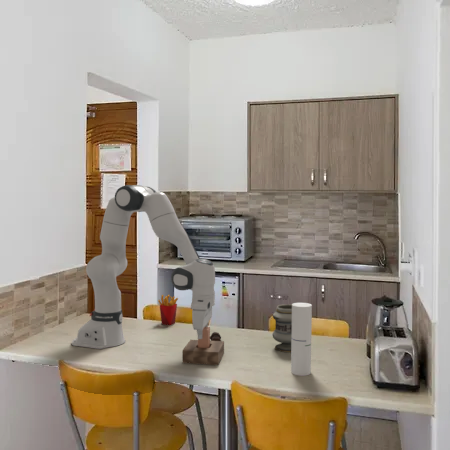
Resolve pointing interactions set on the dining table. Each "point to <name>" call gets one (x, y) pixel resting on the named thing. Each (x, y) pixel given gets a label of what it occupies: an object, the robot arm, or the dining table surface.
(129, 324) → the dining table surface
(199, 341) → the peg
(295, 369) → the cylindrical container
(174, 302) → the french fries
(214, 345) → the socket block
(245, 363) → the dining table surface
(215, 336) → the bolt
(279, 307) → the apothecary jar
